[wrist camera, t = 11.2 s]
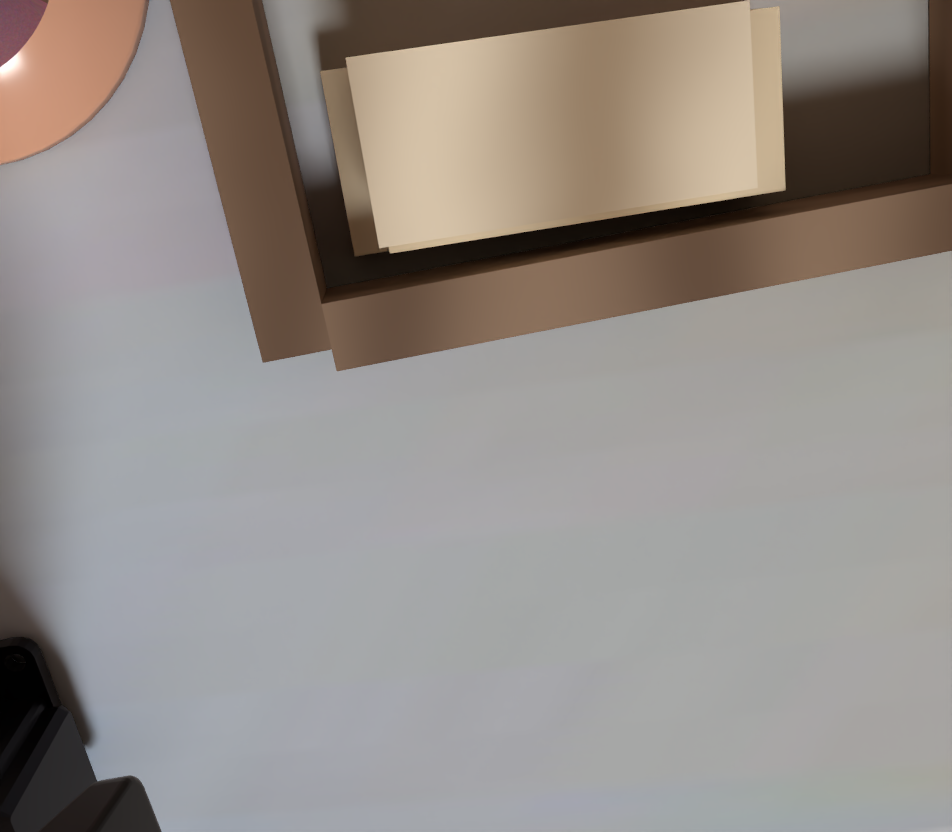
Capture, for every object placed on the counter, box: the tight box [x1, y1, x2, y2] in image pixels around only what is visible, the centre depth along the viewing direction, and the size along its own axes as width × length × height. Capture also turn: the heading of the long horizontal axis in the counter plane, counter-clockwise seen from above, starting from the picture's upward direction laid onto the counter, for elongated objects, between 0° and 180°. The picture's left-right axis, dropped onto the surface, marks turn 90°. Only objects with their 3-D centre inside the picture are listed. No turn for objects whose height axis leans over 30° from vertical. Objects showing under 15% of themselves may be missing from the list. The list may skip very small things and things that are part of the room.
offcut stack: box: [320, 0, 786, 256], centre depth 18 cm, size 10×4×4 cm, turn 98°
